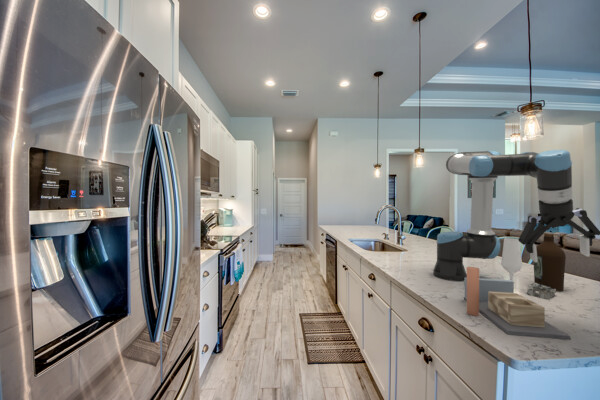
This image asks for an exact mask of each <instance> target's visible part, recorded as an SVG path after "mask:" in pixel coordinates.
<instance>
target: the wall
mask: <svg viewBox="0 0 600 400" xmlns="http://www.w3.org/2000/svg"><path fill="white" fill-rule="evenodd" d="M463 282H464V283H463V284H464V286H463V287H464V289H463V292H464V293H463V295H464V297H463V299H464V298H466V299H467V278H464V281H463ZM514 289H515V284H514V280H513V281H511V280H510V279H501V278H499V279H498V278H483V277H481V278H480V277H479V301H488V292H505V293H515V290H514Z"/></svg>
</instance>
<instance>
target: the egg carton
mask: <svg viewBox="0 0 600 400" xmlns="http://www.w3.org/2000/svg"><path fill="white" fill-rule="evenodd" d="M525 287H526V291H527V293H526V294H528V295H529V296H531V297H539V298H540V299H543V300H550V298H553V297H556V292H557V291H556V289H551V288H550V287H547V286H543V285H540V284H537V283H533V284H529V285H526V286H525Z"/></svg>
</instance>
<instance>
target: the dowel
mask: <svg viewBox="0 0 600 400" xmlns="http://www.w3.org/2000/svg"><path fill="white" fill-rule="evenodd" d="M466 274H467V302H466V314H468V315H469V316H474V317H479V316H480V312H479V278H480V268H479V267H475V266H467V267H466Z"/></svg>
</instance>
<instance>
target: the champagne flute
mask: <svg viewBox="0 0 600 400" xmlns="http://www.w3.org/2000/svg"><path fill="white" fill-rule="evenodd" d="M518 239H519V238H512V237H511V238H510V237H505V238H503V245H502V255H501V264H500V265H501V266H502V268H503V269H504V270H505V271H506V272H507V273H509V280H511V281H513V282H514V275H515V274H516V273H518V272H520V271H521V270H522V268H523V260H522V251H521V243H520V242H519V241H518Z"/></svg>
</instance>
